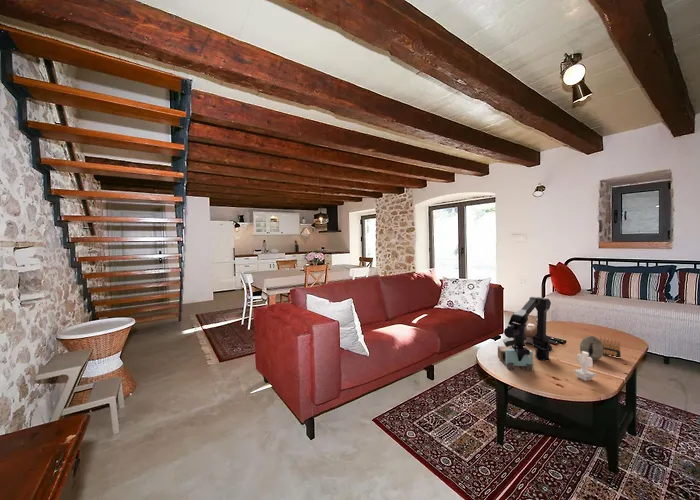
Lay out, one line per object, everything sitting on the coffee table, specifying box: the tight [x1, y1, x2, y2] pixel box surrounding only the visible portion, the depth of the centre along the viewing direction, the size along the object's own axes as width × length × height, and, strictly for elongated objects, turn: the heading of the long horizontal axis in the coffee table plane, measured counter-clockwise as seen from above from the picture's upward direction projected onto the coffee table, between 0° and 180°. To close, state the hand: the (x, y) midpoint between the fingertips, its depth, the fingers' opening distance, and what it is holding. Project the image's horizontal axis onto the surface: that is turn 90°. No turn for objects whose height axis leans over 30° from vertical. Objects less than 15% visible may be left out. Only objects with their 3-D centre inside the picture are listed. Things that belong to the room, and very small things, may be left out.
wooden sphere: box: [524, 322, 537, 345], centre depth 213 cm, size 15×15×15 cm
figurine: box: [572, 351, 597, 382], centre depth 161 cm, size 7×9×15 cm
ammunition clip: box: [599, 336, 621, 357], centre depth 189 cm, size 11×2×12 cm, turn 41°
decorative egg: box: [579, 335, 604, 361], centre depth 184 cm, size 12×12×15 cm
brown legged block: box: [497, 345, 534, 372], centre depth 181 cm, size 16×18×7 cm
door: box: [505, 349, 534, 367], centre depth 175 cm, size 14×4×9 cm, turn 76°
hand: (518, 360), depth 175 cm, fingers closed on door, 2 cm apart
